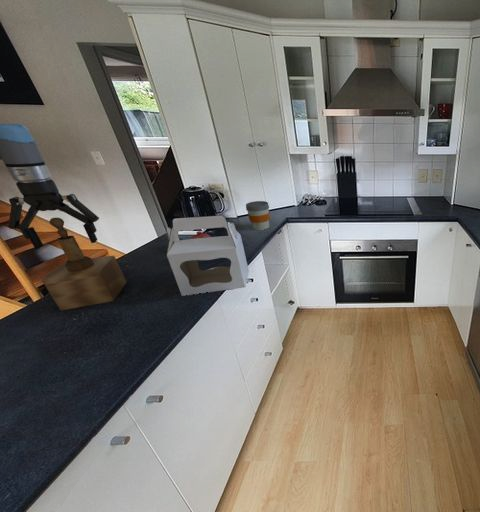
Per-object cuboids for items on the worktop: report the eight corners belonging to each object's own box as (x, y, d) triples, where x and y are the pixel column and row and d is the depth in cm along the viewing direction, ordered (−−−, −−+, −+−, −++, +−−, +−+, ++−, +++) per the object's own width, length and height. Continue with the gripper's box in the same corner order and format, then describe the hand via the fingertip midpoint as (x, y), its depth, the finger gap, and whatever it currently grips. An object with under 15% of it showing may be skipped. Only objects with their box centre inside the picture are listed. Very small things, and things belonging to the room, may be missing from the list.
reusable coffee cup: (255, 232, 159) (250, 208, 153) (246, 227, 167) (241, 203, 160) (276, 227, 168) (272, 203, 161) (266, 222, 175) (262, 199, 168)
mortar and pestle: (78, 263, 98) (52, 215, 90) (98, 261, 99) (75, 214, 91) (62, 272, 92) (32, 221, 84) (84, 270, 93) (57, 220, 85)
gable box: (249, 271, 119) (235, 209, 106) (246, 287, 108) (230, 220, 95) (191, 278, 112) (168, 213, 100) (180, 296, 101) (154, 225, 89)
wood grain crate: (60, 310, 92) (41, 280, 87) (80, 289, 104) (64, 262, 98) (113, 301, 98) (99, 272, 93) (126, 282, 109) (114, 255, 104)
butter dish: (188, 246, 141) (183, 230, 137) (213, 240, 148) (208, 226, 144) (192, 253, 133) (187, 237, 129) (218, 247, 140) (214, 232, 136)
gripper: (-39, 185, 74) (6, 254, 84) (83, 180, 84) (111, 243, 93) (-18, 179, 80) (22, 245, 90) (94, 176, 90) (119, 235, 100)
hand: (68, 244), depth 92 cm, fingers open, 13 cm apart
